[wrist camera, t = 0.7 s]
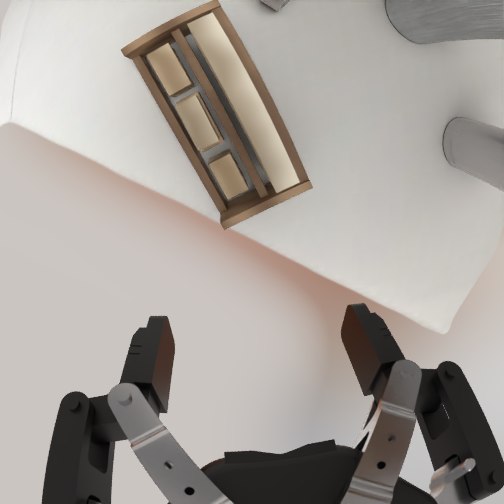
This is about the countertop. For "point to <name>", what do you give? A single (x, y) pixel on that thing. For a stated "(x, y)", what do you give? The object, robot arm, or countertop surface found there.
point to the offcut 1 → (170, 70)
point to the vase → (447, 19)
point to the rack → (176, 32)
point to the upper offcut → (197, 122)
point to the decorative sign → (275, 3)
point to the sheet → (244, 101)
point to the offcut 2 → (228, 174)
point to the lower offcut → (209, 118)
